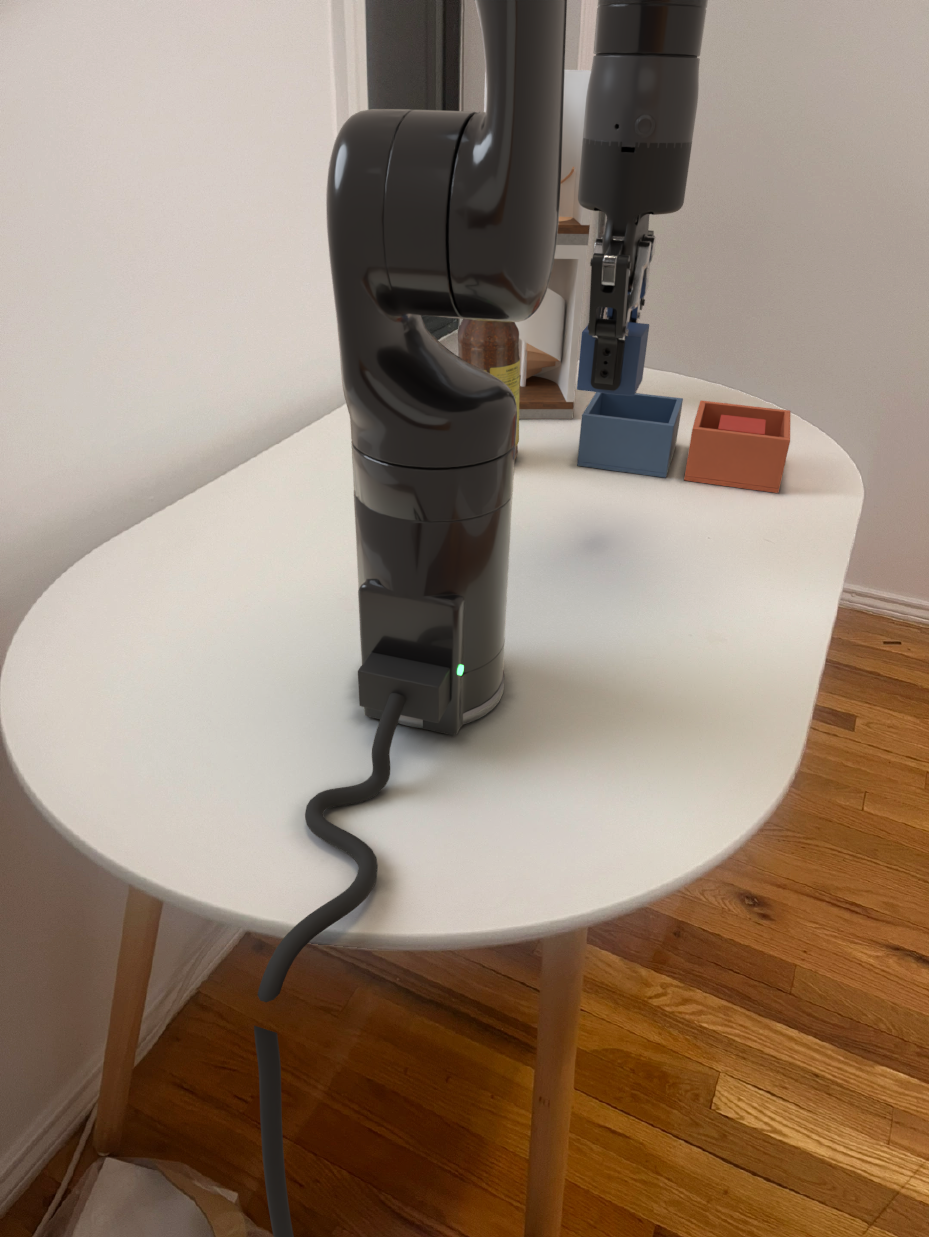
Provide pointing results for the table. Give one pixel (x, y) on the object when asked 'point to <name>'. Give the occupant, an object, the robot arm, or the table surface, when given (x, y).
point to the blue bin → (630, 433)
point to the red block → (742, 424)
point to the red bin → (738, 448)
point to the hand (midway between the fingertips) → (610, 378)
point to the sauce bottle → (493, 353)
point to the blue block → (631, 361)
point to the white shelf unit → (559, 282)
